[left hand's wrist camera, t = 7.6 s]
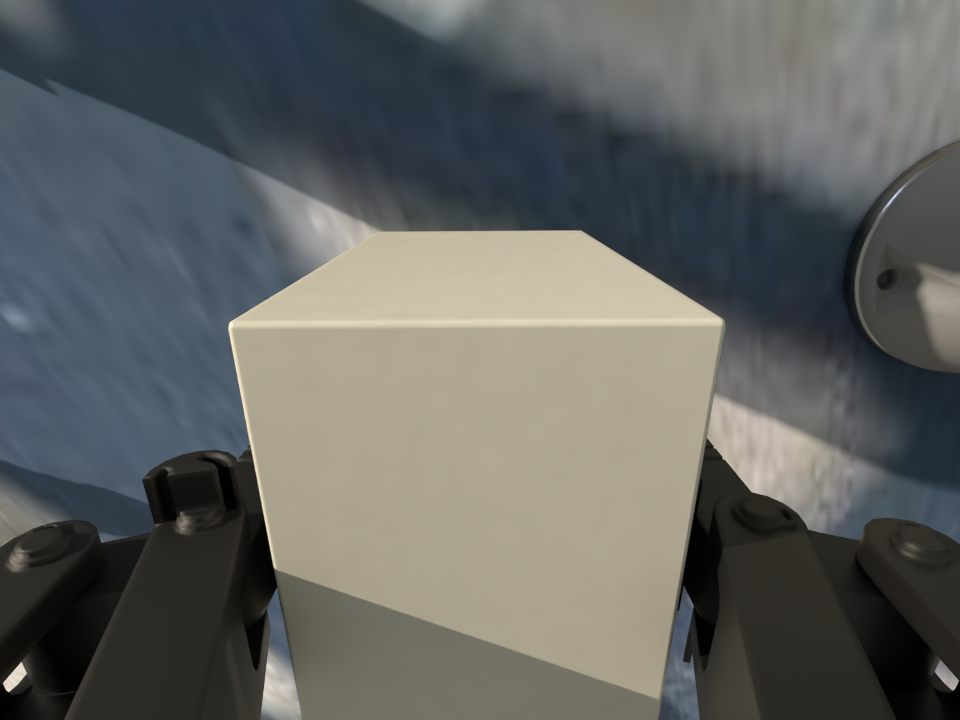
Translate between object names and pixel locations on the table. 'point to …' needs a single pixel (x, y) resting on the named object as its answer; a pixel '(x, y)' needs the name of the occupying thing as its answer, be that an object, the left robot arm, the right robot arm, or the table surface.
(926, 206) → the right robot arm
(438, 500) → the beige long bar
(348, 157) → the table surface
